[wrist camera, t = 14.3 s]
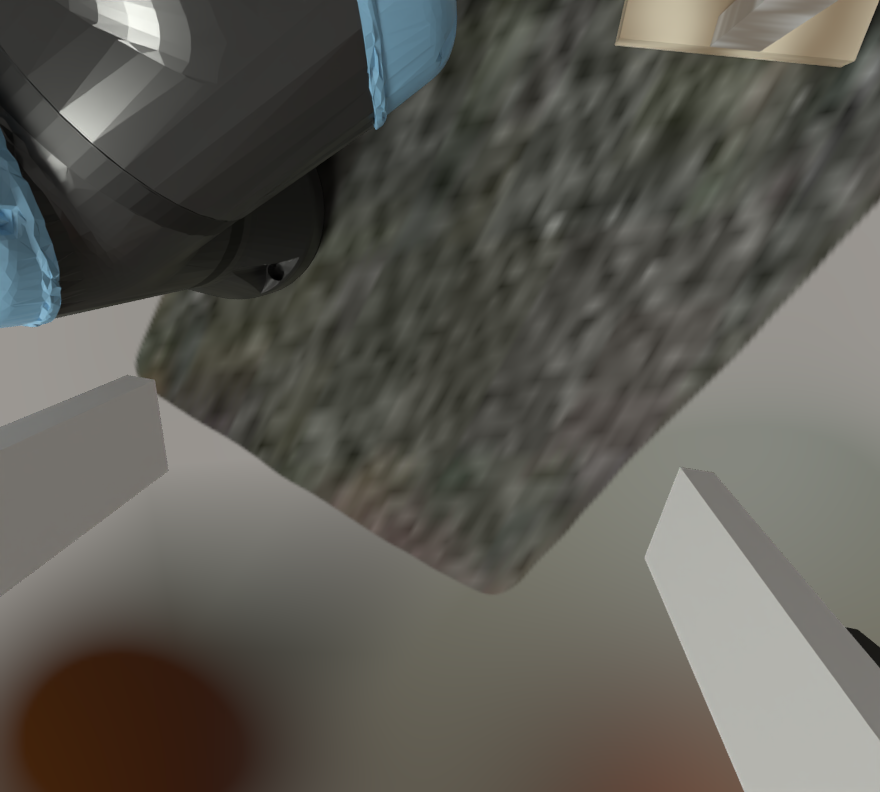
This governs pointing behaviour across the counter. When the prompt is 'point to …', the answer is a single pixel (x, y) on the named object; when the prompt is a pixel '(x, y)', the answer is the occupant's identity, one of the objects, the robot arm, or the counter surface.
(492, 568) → the counter surface
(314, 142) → the robot arm
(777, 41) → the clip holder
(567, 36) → the counter surface
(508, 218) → the counter surface
